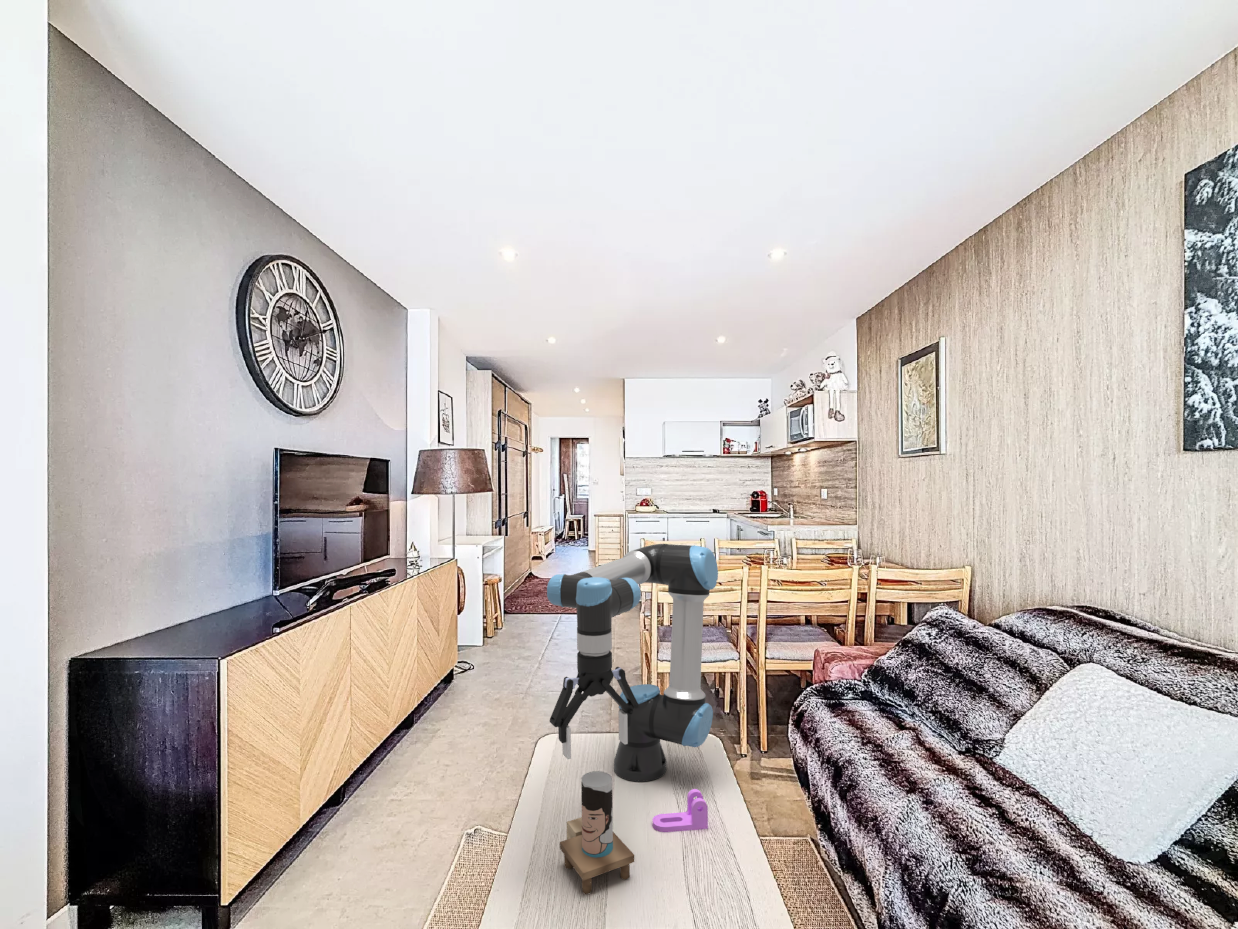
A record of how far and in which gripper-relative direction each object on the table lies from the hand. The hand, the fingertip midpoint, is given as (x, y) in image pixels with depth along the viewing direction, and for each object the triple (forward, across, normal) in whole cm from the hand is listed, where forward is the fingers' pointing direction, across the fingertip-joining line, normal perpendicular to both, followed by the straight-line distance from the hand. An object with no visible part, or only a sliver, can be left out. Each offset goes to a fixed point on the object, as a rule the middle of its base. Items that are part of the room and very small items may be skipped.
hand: (595, 749), depth 135 cm
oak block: (+27, -1, -10) cm, 28 cm away
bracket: (+27, -25, -6) cm, 37 cm away
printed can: (+22, 0, 0) cm, 22 cm away
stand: (+26, 0, 0) cm, 27 cm away
